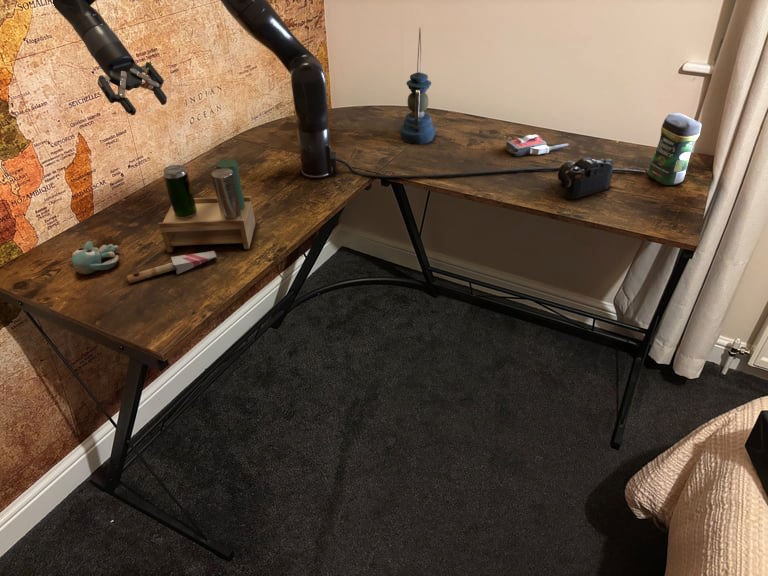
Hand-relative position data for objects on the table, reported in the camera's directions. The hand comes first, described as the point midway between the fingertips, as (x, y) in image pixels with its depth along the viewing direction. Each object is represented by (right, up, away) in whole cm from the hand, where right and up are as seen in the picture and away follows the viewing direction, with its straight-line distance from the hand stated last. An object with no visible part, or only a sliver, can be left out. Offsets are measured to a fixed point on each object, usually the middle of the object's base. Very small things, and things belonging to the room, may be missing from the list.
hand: (150, 108), depth 134 cm
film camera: (+112, -15, +24) cm, 116 cm away
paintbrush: (+8, -40, -4) cm, 41 cm away
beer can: (+8, -25, +3) cm, 27 cm away
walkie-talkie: (+106, +1, +45) cm, 115 cm away
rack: (+13, -31, +7) cm, 34 cm away
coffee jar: (+139, -12, +28) cm, 142 cm away
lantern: (+68, +7, +54) cm, 88 cm away
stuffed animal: (-11, -38, -2) cm, 40 cm away
